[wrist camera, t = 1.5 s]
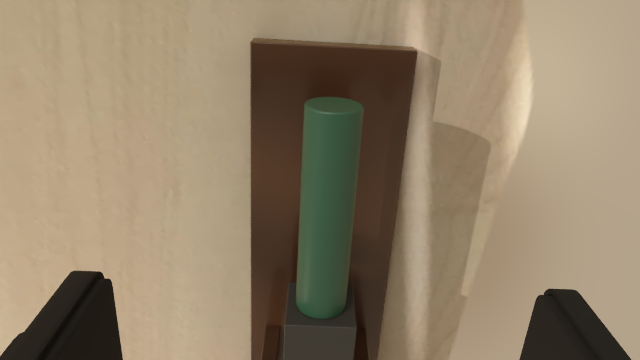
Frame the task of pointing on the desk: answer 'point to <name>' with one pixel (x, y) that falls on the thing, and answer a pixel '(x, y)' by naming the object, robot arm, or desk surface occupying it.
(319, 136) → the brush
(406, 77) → the stand
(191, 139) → the desk surface
